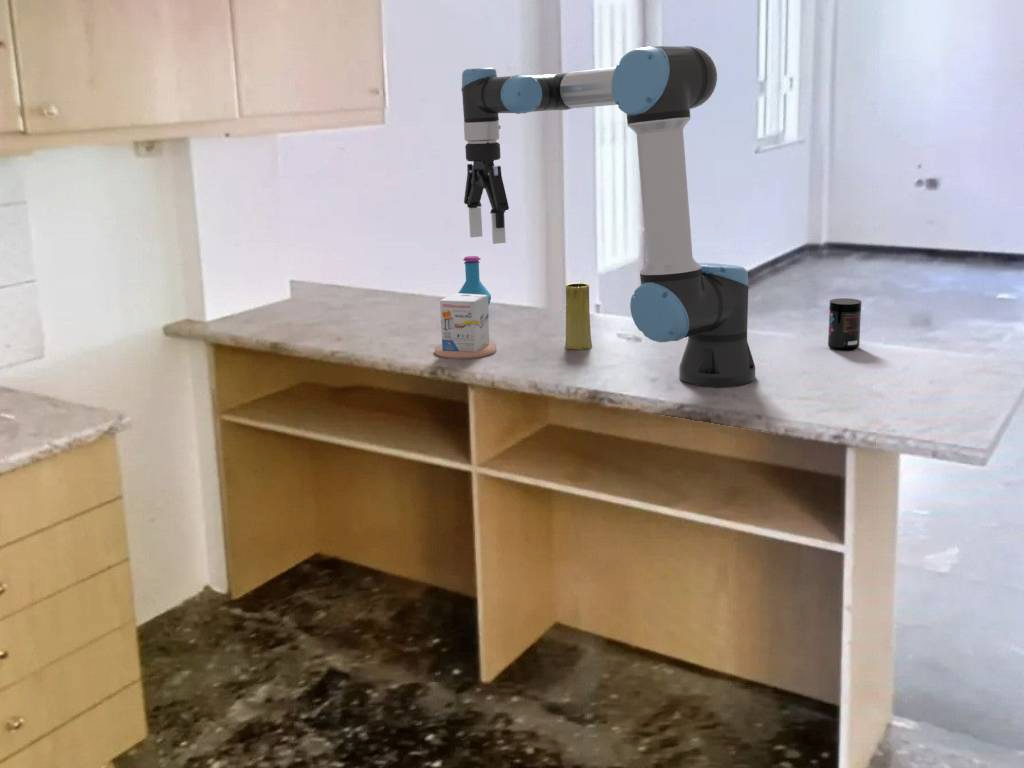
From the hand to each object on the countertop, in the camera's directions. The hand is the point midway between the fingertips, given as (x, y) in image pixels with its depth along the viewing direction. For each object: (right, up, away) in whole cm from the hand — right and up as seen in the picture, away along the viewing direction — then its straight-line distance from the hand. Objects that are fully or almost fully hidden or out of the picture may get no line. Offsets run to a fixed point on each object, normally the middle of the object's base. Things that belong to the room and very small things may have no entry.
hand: (487, 240), depth 256 cm
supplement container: (+78, -24, -2) cm, 82 cm away
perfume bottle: (-4, -14, +47) cm, 49 cm away
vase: (+21, -24, +7) cm, 32 cm away
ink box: (-5, -24, +7) cm, 25 cm away
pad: (-5, -24, +7) cm, 26 cm away
